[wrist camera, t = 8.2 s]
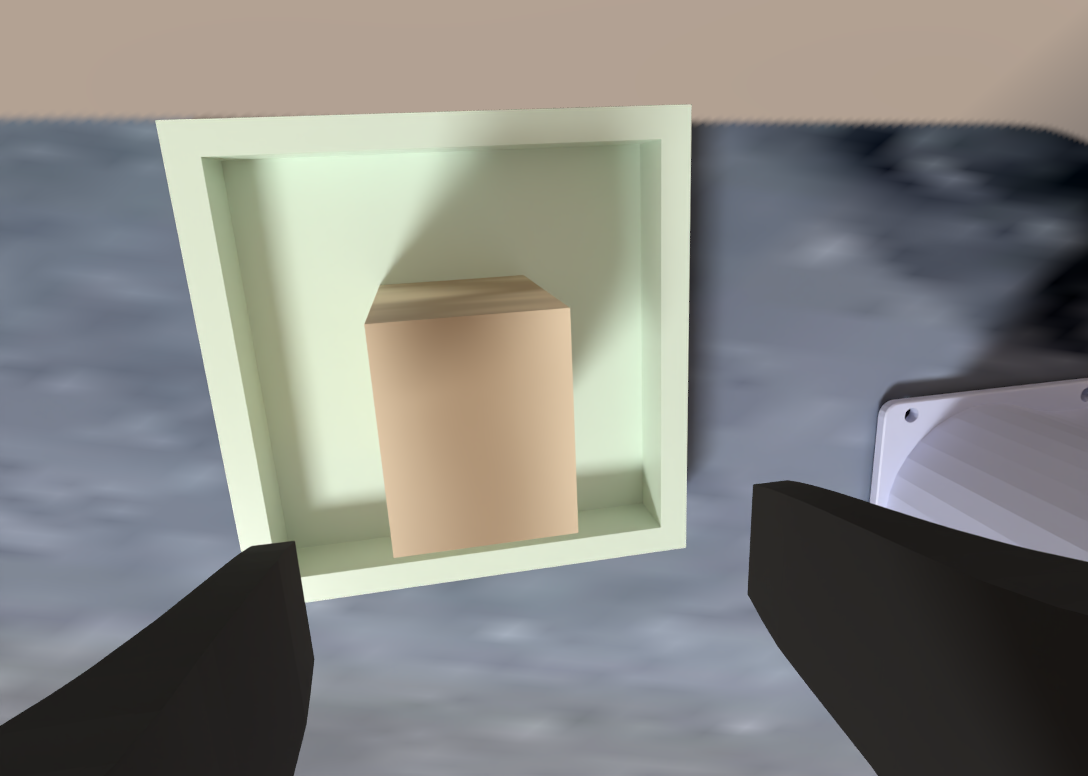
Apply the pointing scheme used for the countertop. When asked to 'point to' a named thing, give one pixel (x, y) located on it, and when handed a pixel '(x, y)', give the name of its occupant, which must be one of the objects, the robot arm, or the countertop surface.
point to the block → (473, 412)
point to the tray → (424, 256)
